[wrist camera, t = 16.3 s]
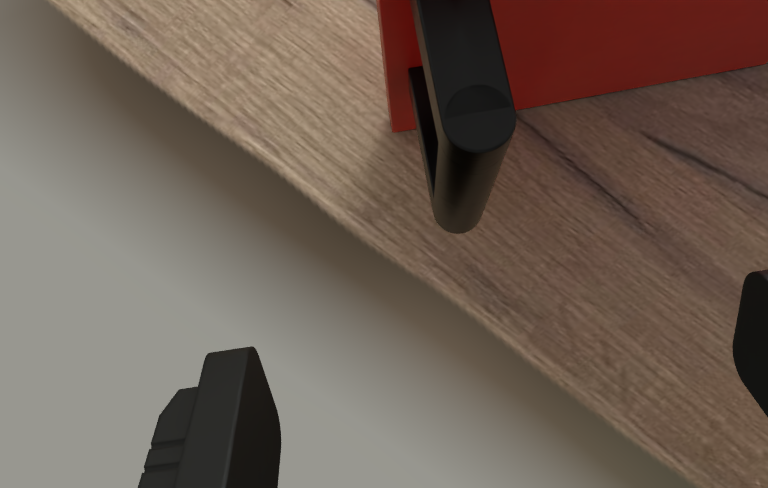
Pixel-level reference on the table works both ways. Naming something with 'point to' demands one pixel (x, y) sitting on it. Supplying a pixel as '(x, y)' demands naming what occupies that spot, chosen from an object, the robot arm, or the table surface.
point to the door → (537, 70)
